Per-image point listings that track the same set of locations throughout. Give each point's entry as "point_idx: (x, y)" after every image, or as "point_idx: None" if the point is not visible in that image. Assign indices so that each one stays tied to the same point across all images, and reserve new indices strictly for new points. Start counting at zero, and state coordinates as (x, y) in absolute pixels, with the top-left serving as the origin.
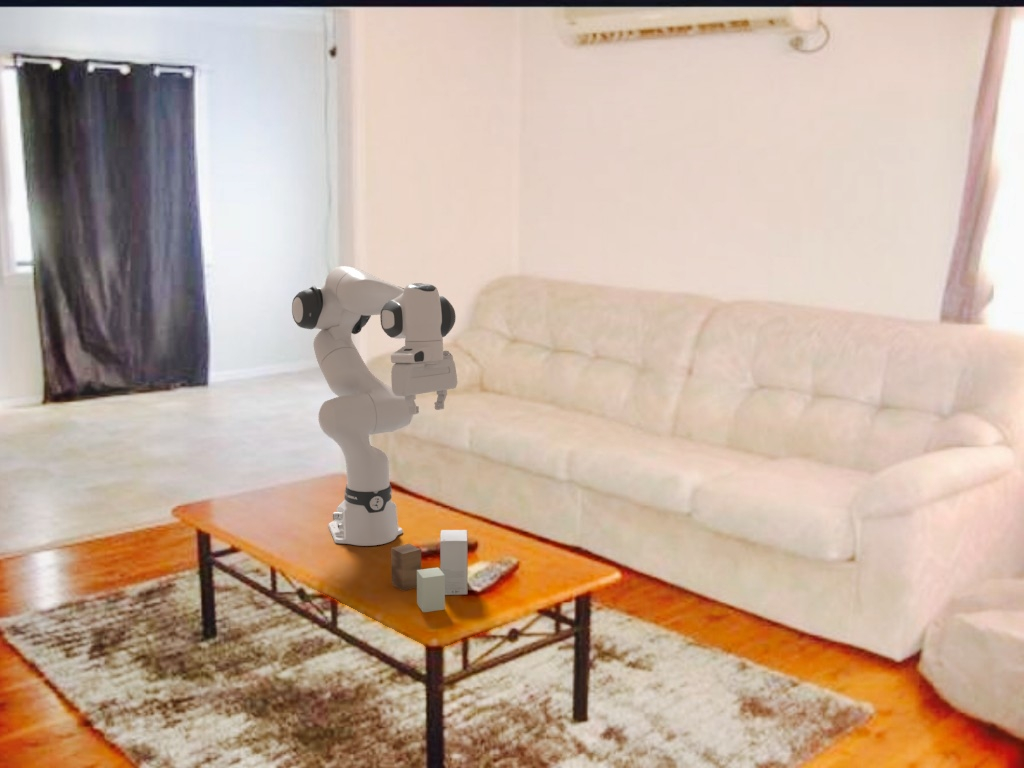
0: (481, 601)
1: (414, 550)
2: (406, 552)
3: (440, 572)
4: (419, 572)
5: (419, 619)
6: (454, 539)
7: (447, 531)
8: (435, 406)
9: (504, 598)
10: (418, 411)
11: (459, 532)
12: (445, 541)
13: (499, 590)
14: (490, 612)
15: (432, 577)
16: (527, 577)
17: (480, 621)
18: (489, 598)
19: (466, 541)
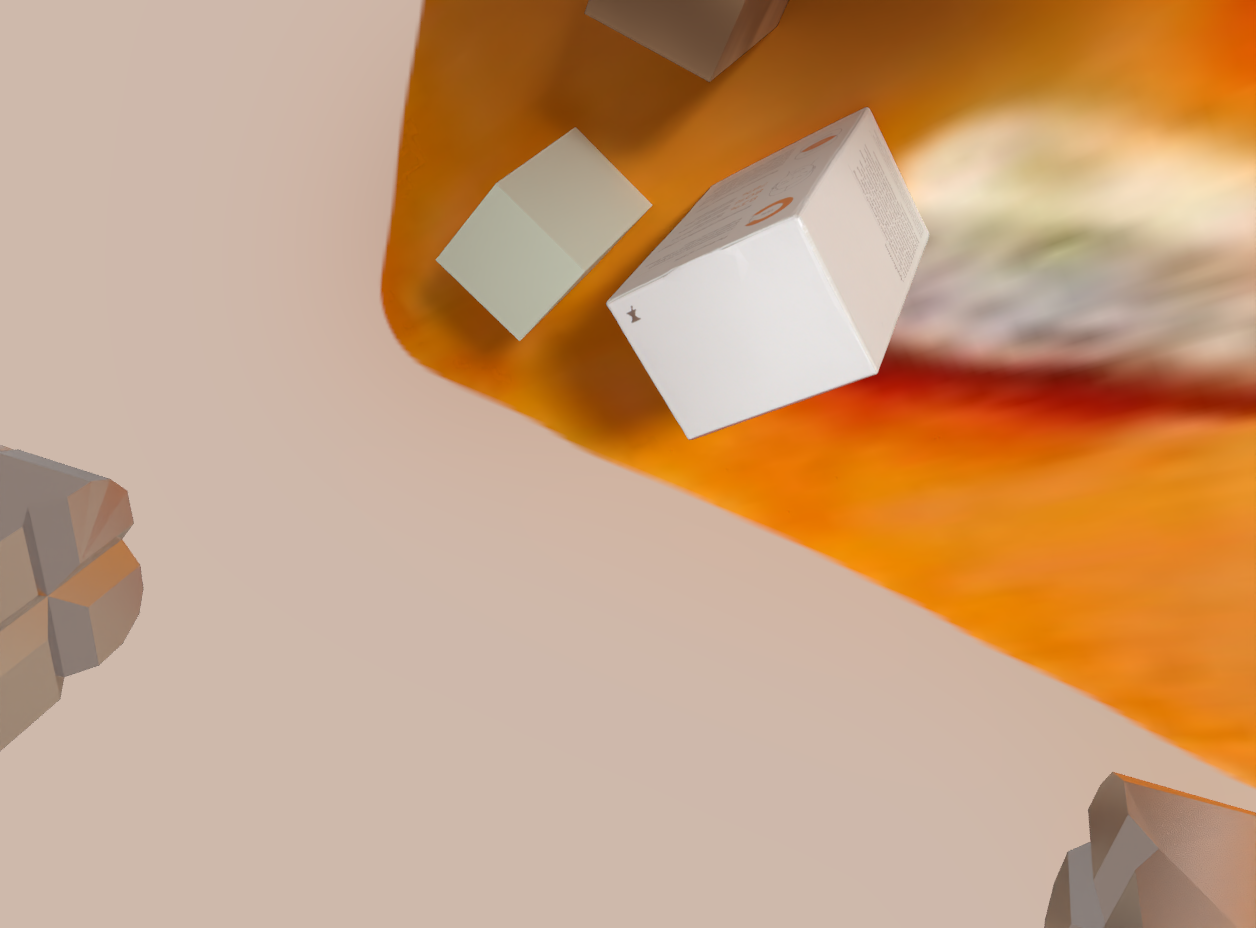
0: None
1: (672, 51)
2: (616, 22)
3: (534, 310)
4: (477, 213)
5: (457, 216)
6: (669, 369)
7: (785, 271)
8: (1132, 849)
9: (812, 458)
10: (91, 654)
11: (800, 351)
12: (622, 329)
13: (890, 415)
14: (657, 445)
15: (475, 294)
16: (1112, 490)
17: (569, 435)
18: None
19: (687, 434)
